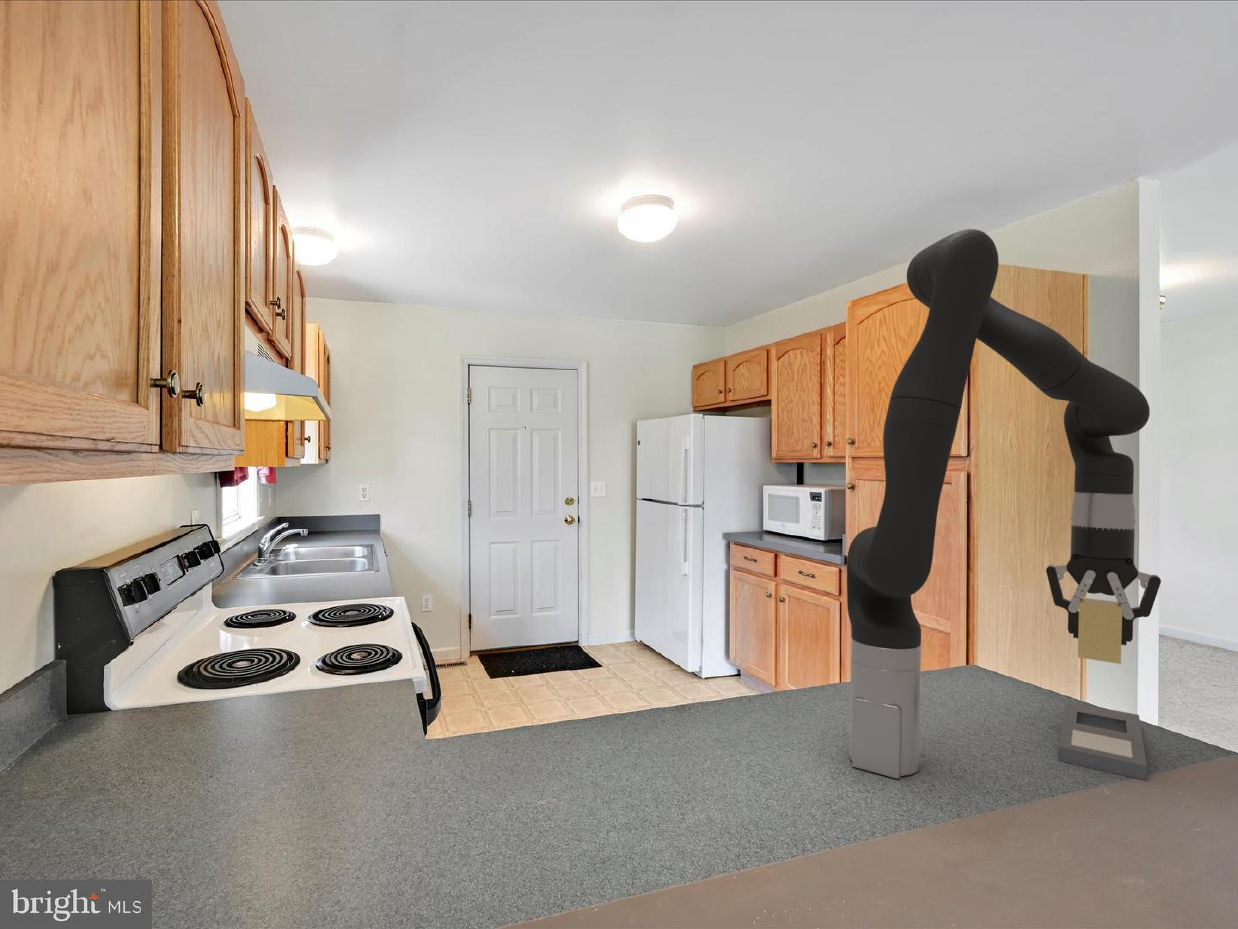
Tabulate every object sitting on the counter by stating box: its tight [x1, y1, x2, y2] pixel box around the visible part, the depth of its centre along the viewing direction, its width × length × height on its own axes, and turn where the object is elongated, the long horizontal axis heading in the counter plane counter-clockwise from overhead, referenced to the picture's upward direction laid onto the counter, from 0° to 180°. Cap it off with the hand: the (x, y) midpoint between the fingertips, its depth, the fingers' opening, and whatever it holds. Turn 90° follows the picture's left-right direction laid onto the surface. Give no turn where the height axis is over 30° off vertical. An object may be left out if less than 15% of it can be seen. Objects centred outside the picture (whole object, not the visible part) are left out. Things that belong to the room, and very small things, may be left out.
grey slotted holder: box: [1057, 700, 1148, 782], centre depth 102 cm, size 24×10×2 cm, turn 144°
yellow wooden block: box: [1077, 597, 1122, 665], centre depth 97 cm, size 5×5×8 cm
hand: (1099, 640), depth 97 cm, fingers closed on yellow wooden block, 5 cm apart
